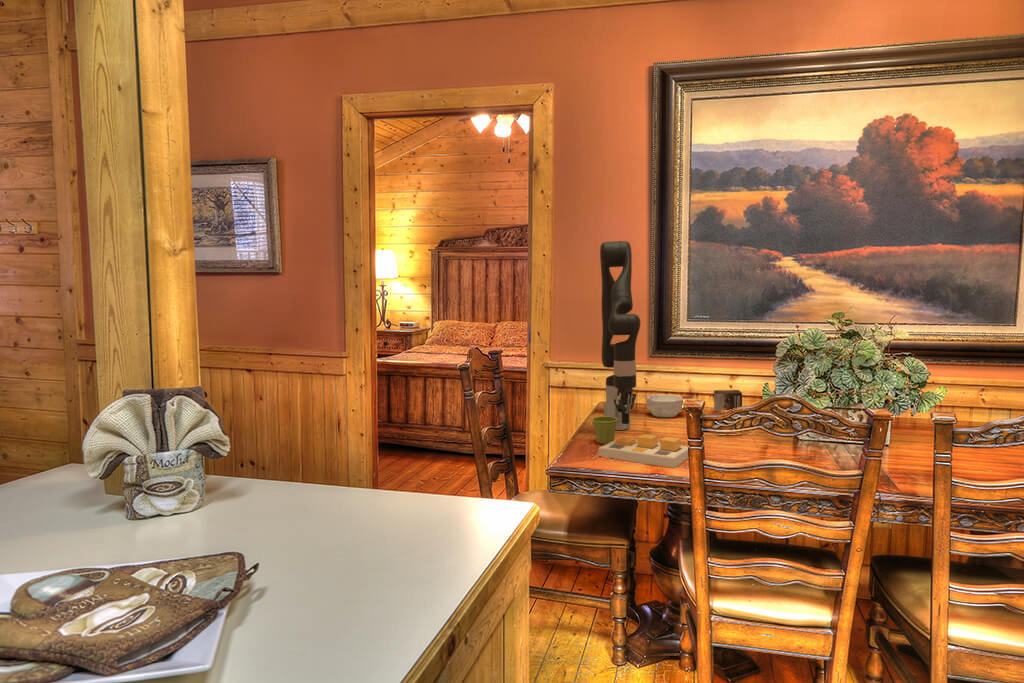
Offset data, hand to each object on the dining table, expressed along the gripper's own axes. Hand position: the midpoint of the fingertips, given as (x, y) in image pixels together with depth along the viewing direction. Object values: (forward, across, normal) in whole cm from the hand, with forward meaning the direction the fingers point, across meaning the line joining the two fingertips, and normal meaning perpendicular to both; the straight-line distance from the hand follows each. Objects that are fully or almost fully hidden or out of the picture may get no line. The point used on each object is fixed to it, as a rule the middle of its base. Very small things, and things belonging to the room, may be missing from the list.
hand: (625, 423), depth 222 cm
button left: (+8, 0, 0) cm, 9 cm away
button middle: (+6, 0, +8) cm, 10 cm away
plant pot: (+10, -8, -12) cm, 17 cm away
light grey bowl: (+11, -60, -11) cm, 62 cm away
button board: (+10, +2, +8) cm, 13 cm away
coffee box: (+10, -40, +22) cm, 47 cm away
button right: (+6, 0, +16) cm, 17 cm away
